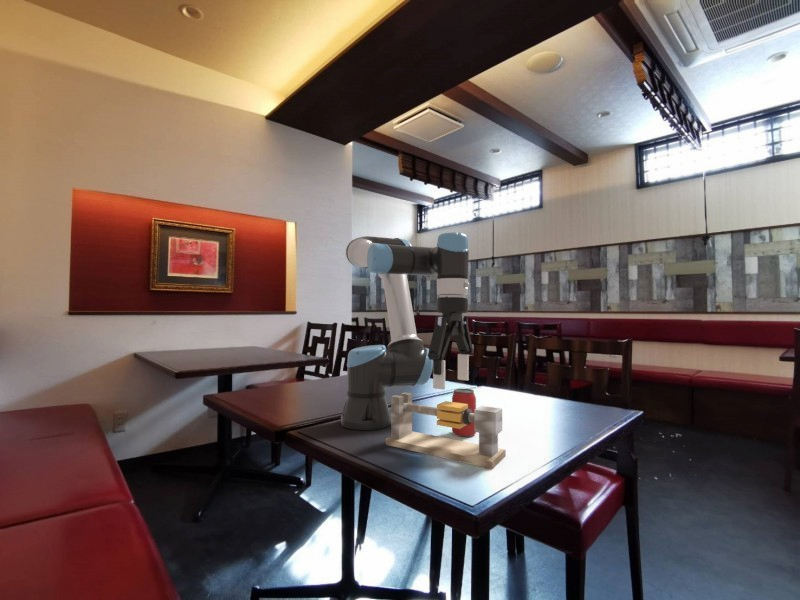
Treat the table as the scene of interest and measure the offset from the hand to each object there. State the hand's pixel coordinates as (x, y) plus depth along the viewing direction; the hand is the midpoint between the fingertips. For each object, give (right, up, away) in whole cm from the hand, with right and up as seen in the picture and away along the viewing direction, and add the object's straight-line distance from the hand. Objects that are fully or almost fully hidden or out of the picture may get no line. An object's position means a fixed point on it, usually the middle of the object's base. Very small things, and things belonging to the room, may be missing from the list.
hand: (451, 384), depth 93 cm
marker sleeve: (0, -10, -1) cm, 10 cm away
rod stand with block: (-2, -16, 0) cm, 16 cm away
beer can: (+5, -17, +14) cm, 22 cm away
